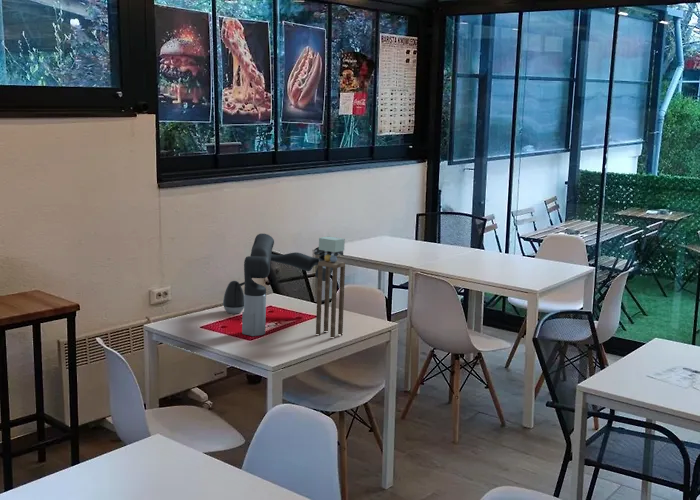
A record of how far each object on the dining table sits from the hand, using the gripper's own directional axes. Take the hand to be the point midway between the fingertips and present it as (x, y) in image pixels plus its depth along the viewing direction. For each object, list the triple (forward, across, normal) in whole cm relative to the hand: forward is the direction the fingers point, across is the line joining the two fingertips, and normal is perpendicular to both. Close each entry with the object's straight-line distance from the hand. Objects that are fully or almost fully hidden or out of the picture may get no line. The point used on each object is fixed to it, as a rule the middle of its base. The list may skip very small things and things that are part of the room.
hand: (330, 244), depth 339 cm
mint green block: (0, 0, +2) cm, 2 cm away
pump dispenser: (-44, -42, +19) cm, 64 cm away
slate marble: (+6, +2, +10) cm, 11 cm away
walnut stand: (-12, 0, +37) cm, 39 cm away
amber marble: (+3, -2, +9) cm, 9 cm away
